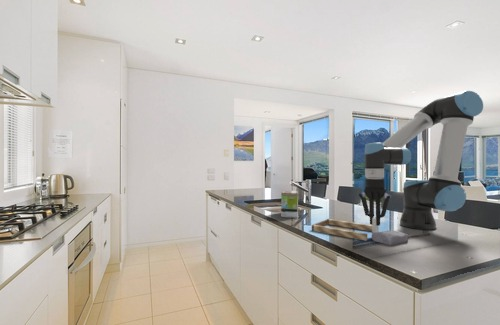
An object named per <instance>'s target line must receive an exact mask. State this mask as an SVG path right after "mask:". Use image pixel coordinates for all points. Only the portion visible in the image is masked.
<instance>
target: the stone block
mask: <svg viewBox="0 0 500 325" xmlns="http://www.w3.org/2000/svg"><path fill="white" fill-rule="evenodd" d="M371 239H372V241H374V242H377V243H381V244H384V245H388V246H395V245H399V244H403V243H407V242H408V241H409V235H408V233H404V232H401V231H398V230H383V231H378V232H377V233H371Z"/></svg>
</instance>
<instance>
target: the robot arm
mask: <svg viewBox="0 0 500 325" xmlns="http://www.w3.org/2000/svg"><path fill="white" fill-rule="evenodd" d="M483 110H484V102H483V99H482V97H481V96H480V94H478V93H477V92H475V91H473V90H464V91H458V92H456V93H454V94H451V95H447V96H443V97H440V98H437V99H435V100H433V101H431V102H429V103H428V104H426V106H424V107H423V108H421V109H420V110H419V111H417V112H416V113H415V114H414V116H413V118H412V119H411V120H410V121H408V122H407V123H405V125H403V126H402V127H401V128H399V129H398V130H397V131H396V132H395V133H393V134H392V135H391V136H389V137H388V138H386V140H385V141H383V142H369V143H366V144H365V145H364V177H365V179H364V190H363V192H361V193H359V194H358V197H359V198H360V199H361V200H360V201H361V203H362V206H363V212H364V214H365V216H367V217H368V218H369V225H372V231H371V232H372V233H377V232H379V226H381V218H384V217H385V216H386V214H387V209H388V206H389V203H390V202H389V201H390V200H391V199H392V195H391V194H388V193H387V191H386V190H385V179H384V178H385V166H389V165H393V166H398V165H399V166H402V165H403V166H404V165H407V164H409V163H410V162H411V160H412V153H411V150H410V149H409V148H407V147H404V146H406V145H407V144H408V143H410V142H411V141H412V140H413V139H415V138H416V137H417V136H419V135H420V134H421V133H422V132H424V130H427V129H430V128H432V127H433V126H434V125H437V124H441V125H442V131H441V134H440V135H441V136H440V140H439V146H438V151H437V156H436V162H435V167H434V171H433V172H434V173H433V175H432V176H430V177H428V179H414V180H405V181H404V183H403V188H402V190H403V191H402V193H403V194H402V195H403V211H402V214H401V216H400V218H399V224H400V226H403V227H405V228H411V229H415V230H426V231H427V230H429V231H430V230H435V229H436V228H437V223H436V220H435V218H434V215H433V211H432V209H434V210H439V211H443V212H455V211H458V210H459V209H461V208H462V207H463V206H464V204H465V203H466V200H467V193H466V191H465V189H464V188H463V187H462V182H461V181H460V180H459V179H458V178H459V172H460V168H461V163H462V162H461V161H462V157H463V152H464V146H465V141H466V138H467V136H466V135H467V130H468V126H470V125H472V124H474V123H473V122H474V119H475V117H477V116H479V115H480V114H481V113H482V112H483ZM366 197H367V198H368V201H367V198H366ZM383 197H384V202H383V205H382V208H381V200H382V199H383ZM367 202H368V203H367ZM368 204H369V205H368ZM372 233H371V234H372Z"/></svg>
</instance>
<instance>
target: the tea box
mask: <svg viewBox="0 0 500 325" xmlns="http://www.w3.org/2000/svg"><path fill="white" fill-rule="evenodd" d="M280 196H281V197H280V198H281V199H280V200H281V202H280V204H281V205H280V207H281V208H280V210H281V212H280V217H281V218H294V219H295V218H298V216H299V215H298V214H299V190H282V192H281V195H280Z"/></svg>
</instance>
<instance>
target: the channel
mask: <svg viewBox="0 0 500 325" xmlns="http://www.w3.org/2000/svg"><path fill="white" fill-rule="evenodd" d="M328 225H329V226H337V227H341V228H347V229H348V228H349V229H355V230H360V231H367V232H372V225H370V224H366V223H365V224H364V223H360V222H350V221H346V220H345V221H344V220H338V219H332V218H327V219H324V220H322V221H319V222H316V223H314V224H311V231H313V232H319V233H324V234H329V235H334V236H340V237H343V238H344V237H345V238H351V239H356V240H359V241H360V240H361V241H368V233H365V232H359V231H353V230H349V229H348V230H347V229H341V228H334V227H329V226H328Z"/></svg>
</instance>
